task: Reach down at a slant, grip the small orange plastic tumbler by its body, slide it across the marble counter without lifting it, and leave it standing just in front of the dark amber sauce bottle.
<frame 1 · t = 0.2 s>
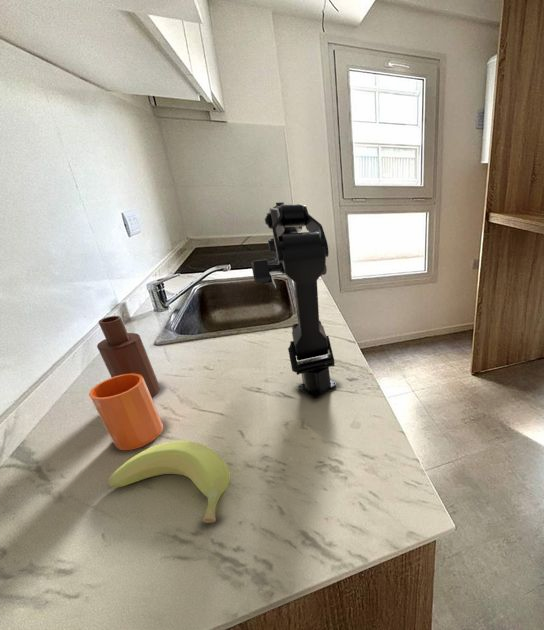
hand: (291, 286, 98), 15 cm above the counter, tool tilted 35°, fingers open, 9 cm apart
orange plastic tumbler: (140, 435, 64), on the counter
sauce bottle: (141, 393, 75), on the counter
banana: (179, 492, 54), on the counter
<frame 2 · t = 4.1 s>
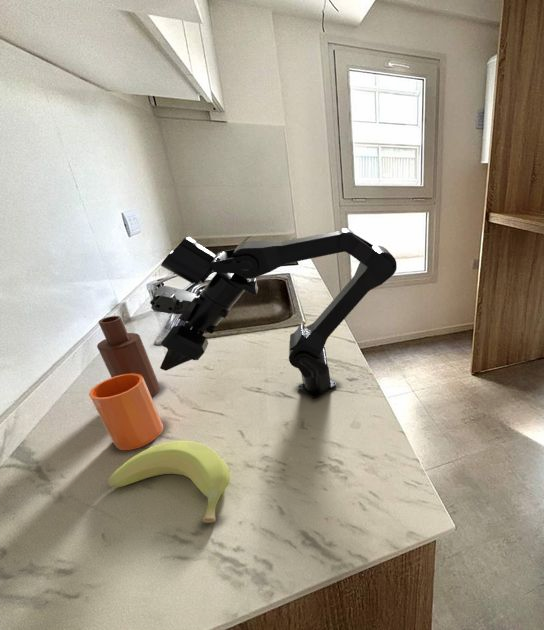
hand: (170, 356, 65), 14 cm above the counter, tool tilted 45°, fingers open, 9 cm apart
nothing on the counter moved.
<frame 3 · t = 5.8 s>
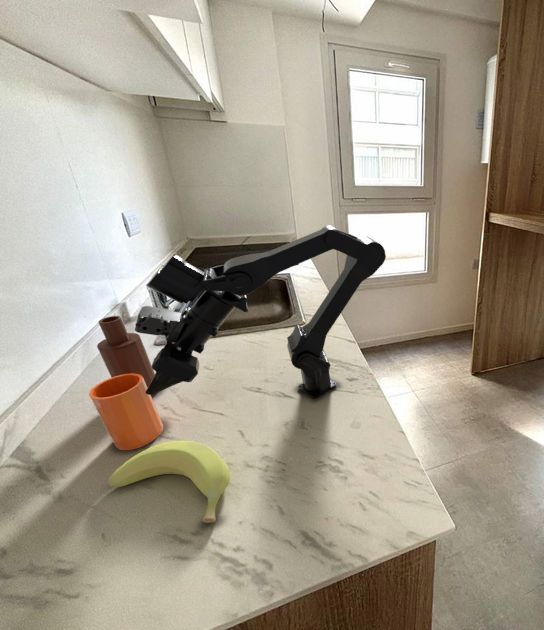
hand: (153, 379, 62), 12 cm above the counter, tool tilted 45°, fingers open, 9 cm apart
nothing on the counter moved.
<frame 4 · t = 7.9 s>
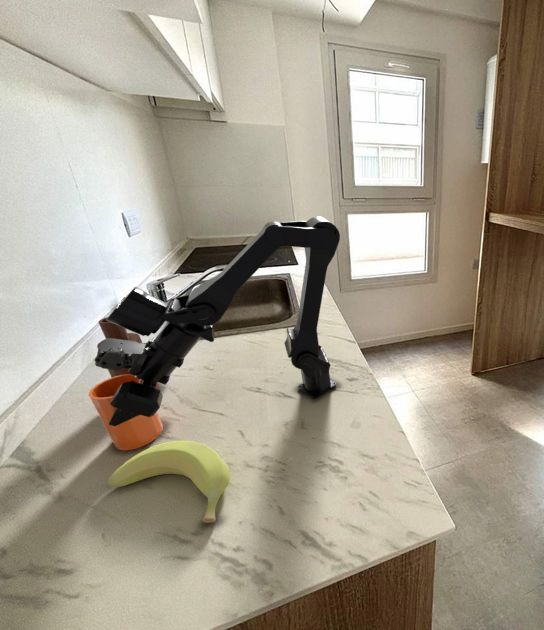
hand: (117, 411, 61), 7 cm above the counter, tool tilted 45°, fingers closed on orange plastic tumbler, 7 cm apart
orange plastic tumbler: (139, 435, 64), on the counter, touching gripper
everything else where it was.
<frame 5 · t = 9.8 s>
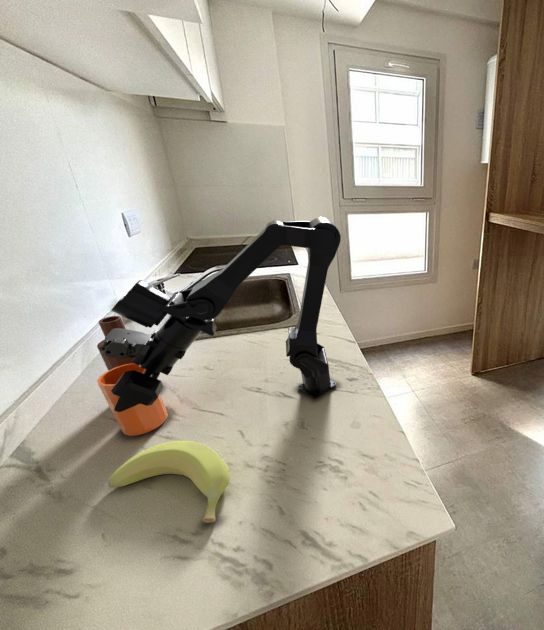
hand: (125, 397, 64), 7 cm above the counter, tool tilted 45°, fingers closed on orange plastic tumbler, 7 cm apart
orange plastic tumbler: (145, 422, 67), on the counter, touching gripper
everything else where it was.
when the fingers open (7 cm above the counter, at t = 11.6 s): orange plastic tumbler stays where it is, on the counter.
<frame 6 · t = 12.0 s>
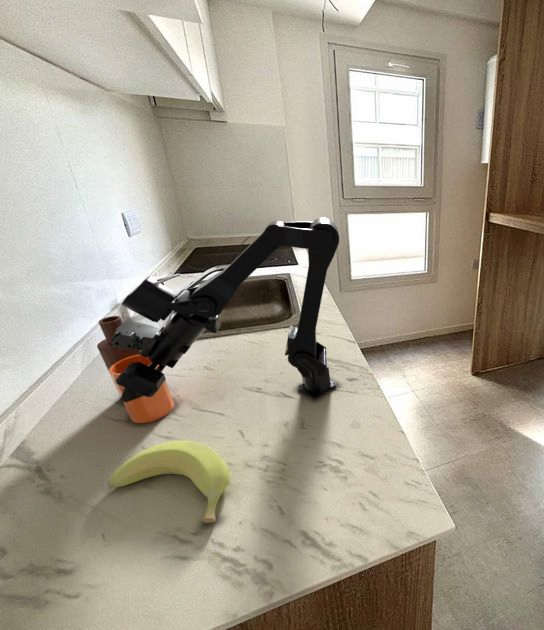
hand: (135, 386, 67), 7 cm above the counter, tool tilted 45°, fingers open, 9 cm apart
orange plastic tumbler: (153, 410, 71), on the counter
everything else where it was.
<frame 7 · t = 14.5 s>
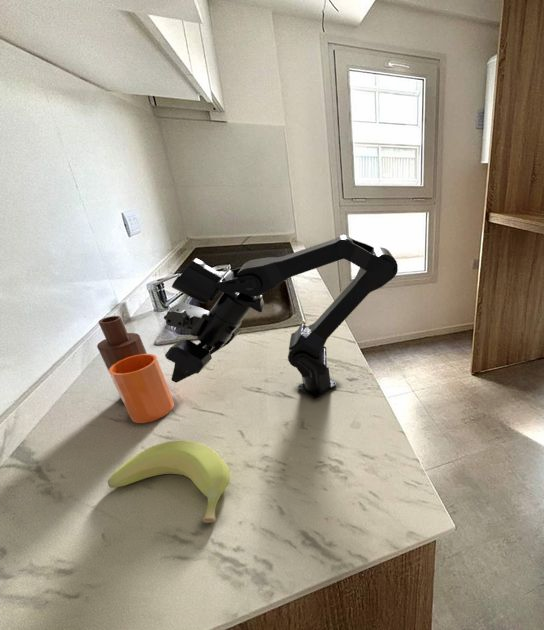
hand: (186, 369, 69), 9 cm above the counter, tool tilted 40°, fingers open, 9 cm apart
nothing on the counter moved.
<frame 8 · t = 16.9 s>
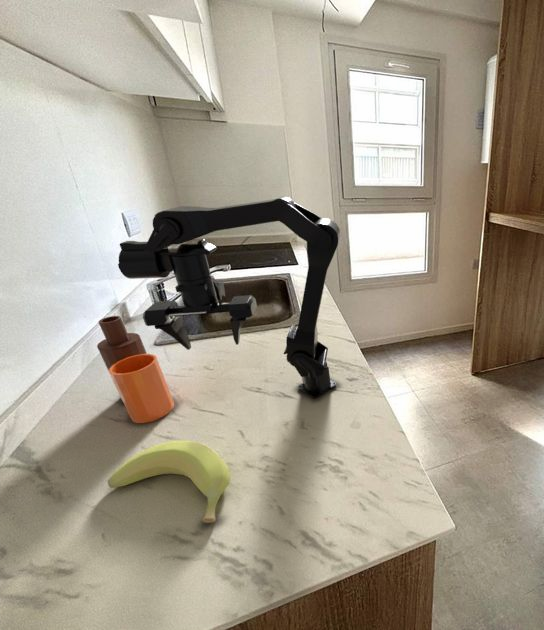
hand: (214, 346, 70), 13 cm above the counter, tool pointing down, fingers open, 9 cm apart
nothing on the counter moved.
at the end: orange plastic tumbler 0.1 cm from the target spot, on the counter; orange plastic tumbler 8.6 cm from the sauce bottle (horizontally); orange plastic tumbler tilted 0° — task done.
